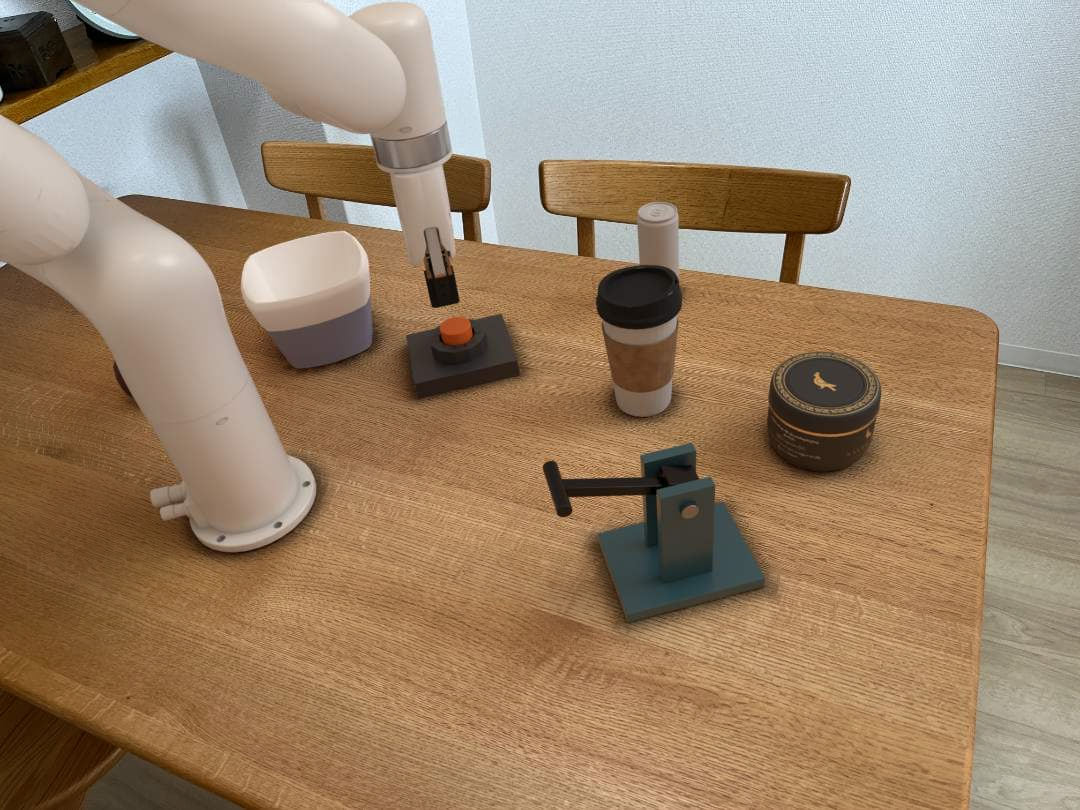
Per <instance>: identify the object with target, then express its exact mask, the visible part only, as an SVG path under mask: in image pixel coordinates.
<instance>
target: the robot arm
mask: <svg viewBox="0 0 1080 810" xmlns="http://www.w3.org/2000/svg"><path fill="white" fill-rule="evenodd" d="M71 2H73V3H75V4H77V5H79V6H81V7H83V8H85V9H87V10H89V11H90V12H92V13H94V14H97V15H98V16H100V17H102V18H104V19H106V20H107V21H110V22H111V23H113V24H115V25H117V26H119V27H121V28H123V29H124V30H127V31H128V32H130V33H132V34H134V35H136V36H138V37H140V38H142V39H144V40H146V41H149V42H151V43H153V44H156V45H158V46H160V47H162V48H165V49H167V50H169V51H172V52H174V53H176V54H179V55H182V56H185V57H187V58H190V59H194V60H195V61H199V62H203V63H207V64H210V65H214V66H216V67H219V68H222V69H225V70H228V71H231V72H234V73H235V74H238V75H241V76H243V77H246V78H248V79H250V80H252V81H255V82H256V83H259V84H260V85H261V86H262V88H263V89H264V91H265V92H266V94H267V96H268V97H269V98H270V99H271V100H272V101H273V102H274V103H275V104H276V105H278V106H279V107H280V108H282V109H284V110H285V111H288V112H290V113H292V114H295V115H297V116H300V117H302V118H306V119H309V120H312V121H315V122H319V123H323V124H325V125H328V126H331V127H335V128H338V129H340V130H343V131H346V132H349V133H352V134H358V135H369V136H370V140H371V145H372V148H373V152H374V157H375V161H376V165H377V167H378V169H379V170H381V171H382V172H385V173H388V174H389V177H390V183H391V189H392V194H393V197H394V202H395V206H396V211H397V215H398V219H399V223H400V227H401V231H402V237H403V240H404V244H405V249H406V252H407V257H408V261H409V264H410V265H411V266H412V267H414V268H418V266H424V269H425V270H423V274H424V280H425V284H426V289H427V293H428V298H429V301H430V306H431V308H432V309H438V308H442V307H447V306H451V305H452V306H453V305H457V304H459V303H460V302H461V301H460V300H461V299H460V296H459V295H460V294H459V290H458V285H457V280H456V274H455V270H454V267H453V265H452V264H451V261H452V260H454V259H455V257H456V255H457V252H456V243H455V235H454V225H453V220H452V211H451V204H450V200H449V199H450V198H449V194H448V187H447V182H446V176H445V171H444V165H443V164H446V163H447V162H448V161H449V160H450V159H451V157H452V156H453V148H452V142H451V137H450V131H449V127H448V126H449V125H448V121H447V116H446V110H445V109H446V108H445V105H444V99H443V93H442V88H441V87H442V86H441V81H440V76H439V71H438V64H437V60H436V59H437V58H436V53H435V47H434V43H433V37H432V36H433V35H432V31H431V26H430V22H429V21H430V20H429V18H428V16H427V14H426V12H425V10H424V9H423V8H422V7H421V6H419V5H417V4H415V3H413V2H408V1H387V2H380V3H375V4H371V5H367V6H365V7H362V8H360V9H358V10H357V11H355V12H353V13H352V14H350V15H346V14H345V13H343V12H342V11H341V10H339V9H338V8H336V7H334V6H333V5H331V4H330V3H328V1H327V2H326V1H325V0H71ZM0 262H1V263H3V264H8V265H11V267H14V268H16V269H18V270H19V271H21V272H23V273H25V274H26V275H28V276H30V277H32V278H33V279H35V280H37V281H38V282H40V283H42V284H43V285H45V286H47V287H49V288H50V289H51V290H53V291H55V292H56V293H57V294H59V295H60V296H61V297H62V298H64V299H65V300H66V301H67V302H69V304H71V306H72V307H74V309H76V310H77V311H78V312H79V313H80V314H81V315H83V316H84V318H86V319H87V320H88V321H89V322H90V323H91V324H92V325H93V326H94V328H95V329H96V331H97V332H98V333H99V334H100V336H101V338H102V339H103V341H104V342H105V344H106V345H107V347H108V349H109V351H110V353H111V356H113V359H114V361H115V362H116V364H117V366H118V369H119V371H120V373H121V375H122V377H123V379H124V381H125V383H126V385H127V387H128V388H129V390H130V392H131V394H132V396H133V397H134V398H133V397H132V398H133V399H134V401H135V402H136V404H137V406H138V407H139V409H140V411H141V413H142V414H143V416H144V417H145V419H146V420H147V422H148V423H149V426H150V427H151V429H152V430H153V432H154V434H155V435H156V437H157V439H158V441H159V442H160V444H161V446H162V447H163V450H164V451H165V453H166V455H167V456H168V457H169V460H170V461H171V463H172V464H173V466H174V468H175V470H176V471H177V474H178V475H179V476H180V478H181V483H177V484H174V485H166V486H162V487H161V486H160V487H157V488H153V489H151V490H150V493H149V498H150V502H151V504H152V507H154V509H158V508H159V514H160V518H161V519H162V521H163V522H166V521H169V520H173V519H178V518H179V517H183V516H186V517H188V518H189V525H190V527H191V530H192V532H193V533H194V535H195V537H196V538H197V540H198V541H199V542H201V543H202V544H203V545H204V546H205V547H208V548H210V549H211V550H214V551H219V552H223V553H239V552H241V553H242V552H247V551H251V550H255V549H260V548H261V547H265V546H267V545H269V544H272V543H273V542H275V541H277V540H279V539H281V538H283V537H285V536H286V535H287V534H288V533H290V532H291V531H292V530H294V529H295V528H296V527H297V526H298V525H299V524H301V522H302V521H303V520H304V519H305V517H306V516H307V515H308V514H309V512H310V510H311V508H312V506H313V505H314V502H315V499H316V496H317V482H316V479H315V476H314V474H313V472H312V470H311V468H310V467H309V466H308V465H307V464H306V462H304V461H302V460H301V459H299V458H298V457H295V456H292V455H288V454H287V452H286V450H285V448H284V445H283V443H282V441H281V439H280V437H279V435H278V432H277V430H276V428H275V426H274V424H273V421H272V420H271V417H270V415H269V413H268V411H267V408H266V406H265V404H264V402H263V400H262V397H261V395H260V393H259V391H258V388H257V387H256V384H255V382H254V380H253V377H252V375H251V373H250V371H249V369H248V367H247V366H246V363H245V361H244V359H243V356H242V355H241V352H240V350H239V347H238V345H237V342H236V340H235V338H234V335H233V333H232V330H231V328H230V325H229V321H228V320H227V319H228V318H227V316H226V312H225V308H224V304H223V300H222V296H221V292H220V289H219V286H218V283H217V281H216V278H215V275H214V273H213V272H212V270H211V268H210V266H209V264H208V263H207V262H206V260H205V259H204V258H203V257H202V255H201V254H200V253H199V252H198V250H197V249H195V247H194V246H192V245H191V244H190V242H188V241H187V240H185V239H184V238H183V237H181V236H180V235H179V234H177V233H176V232H174V231H172V230H171V229H169V228H167V227H166V226H164V225H163V224H160V223H158V222H157V221H155V220H154V219H152V218H150V217H148V216H146V215H144V214H142V213H140V212H139V211H137V210H135V209H133V208H132V207H130V206H129V205H127V204H125V202H122V201H121V200H120V199H118V198H116V197H115V196H113V195H112V194H111V193H109V192H108V191H106V190H105V189H104V188H102V187H101V186H100V185H98V184H96V183H95V182H93V181H92V180H91V179H90V178H88V177H86V176H85V175H84V174H82V173H81V172H80V171H78V170H77V169H76V168H74V167H73V166H72V165H71V164H70V163H69V161H68V160H67V159H66V158H65V157H64V156H63V155H62V154H61V153H60V152H59V151H58V150H57V149H56V148H55V147H53V146H52V145H51V144H49V142H47V141H46V140H44V139H43V138H42V137H40V136H38V135H37V134H36V133H34V132H33V131H30V130H29V129H27V128H25V127H24V126H21V125H20V124H19V123H16V122H14V121H13V120H11V119H9V118H7V117H6V116H4V115H2V114H0ZM423 264H424V265H423ZM179 502H181V503H179Z"/></svg>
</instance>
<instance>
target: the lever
mask: <svg viewBox="0 0 1080 810" xmlns="http://www.w3.org/2000/svg"><path fill="white" fill-rule="evenodd" d="M541 468H542V471H543V475H544V478H545V481H546V484H547V487H548V490H549V493H550V496H551V500H552V502H553V507H554V509H555V513H556V515H557V516H558V517H560V518H566V517H569V516H571V515H572V514H573V510H574V509H573V505H572V503H571V501H570V498H593V497H594V498H596V497H597V498H598V497H627V496H629V497H631V496H642V495H656V490H658V489H662V488H666V487H670V486H674V485H678V484H682V483H686V482H690V481H694V480H698V479H700V477H699V475H698V473H697V470H696V471H695V469H694V468H693V466H692V465H665V466H660V469H659V471H658V474H657V477H641V476H638V477H636V476H634V477H633V476H632V477H631V476H630V477H593V478H592V477H591V478H590V477H589V478H587V477H586V478H585V477H584V478H563V477H562V473H561V471H560V467H559V466H558V462H556V461H555V460H548V461H546V462H544V463H543V464H542V467H541Z"/></svg>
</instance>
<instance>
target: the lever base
mask: <svg viewBox="0 0 1080 810" xmlns="http://www.w3.org/2000/svg"><path fill="white" fill-rule="evenodd" d="M639 456H640V474H641V476H640V477H657V474H658V471H659V469H660V466H665V465H692V466H693V468H694V469H695V471H696V472H697V449H696V446H695V445H694V443H693V442H689V443H685V444H680V445H676V446H672V447H667V448H664V449H660V450H656V451H652V452H648V453H644V454H641V455H639ZM641 496H642V512H643V521H642V522H638V523H634V524H630V525H626V526H622V527H618V528H614V529H611V530H606V531H603V532H599V533H597V541H598V545H599V547H600V550H601V553H602V556H603V558H604V561H605V564H606V567H607V570H608V572H609V576H610V578H611V581H612V584H613V587H614V589H615V592H616V594H617V597H618V600H619V603H620V607H621V609H622V612H623V614H624V617H625V619H626V623H628V624H629V623H633V622H636V621H640V620H644V619H647V618H653V617H655V616H659V615H664V614H667V613H670V612H674V611H678V610H681V609H686V608H690V607H693V606H697V605H701V604H704V603H708V602H711V601H716V600H720V599H724V598H727V597H731V596H736V595H738V594H743V593H746V592H747V593H748V592H750V591H755V590H757V589H762V588H765V583H766V577H765V576H764V574H763V572H762V570H761V568H760V566H759V564H758V562H757V561H756V559H755V557H754V555H753V553H752V551H751V549H750V548H749V546H748V544H747V542H746V541H745V539H744V537H743V535H742V533H741V531H740V529H739V528H738V526H737V523H736V522H735V520H734V519H733V517H732V514H731V513H730V511H729V509H728V507H727V505H726V504H725V502H724V501H721V502H717V503H716V484H715V482H714V479H713V478H712V476H707V477H702V478H699V479H698V480H694V481H690V482H686V483H682V484H678V485H674V486H670V487H666V488H662V489H658V490H656V495H641Z"/></svg>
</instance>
